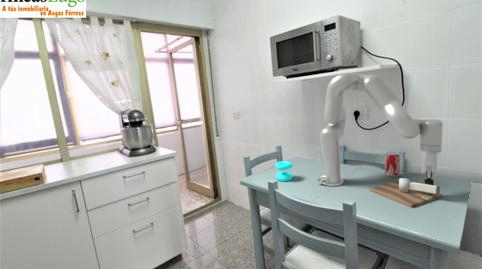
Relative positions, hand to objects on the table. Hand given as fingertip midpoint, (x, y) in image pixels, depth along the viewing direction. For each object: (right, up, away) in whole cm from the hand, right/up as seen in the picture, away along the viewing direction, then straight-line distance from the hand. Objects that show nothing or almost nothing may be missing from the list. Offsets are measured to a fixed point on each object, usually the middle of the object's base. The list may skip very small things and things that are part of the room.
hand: (428, 187), depth 110 cm
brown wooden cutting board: (-8, -4, +5) cm, 10 cm away
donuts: (-59, -3, +38) cm, 70 cm away
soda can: (+1, 0, +28) cm, 28 cm away
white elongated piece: (-4, -3, +1) cm, 5 cm away
